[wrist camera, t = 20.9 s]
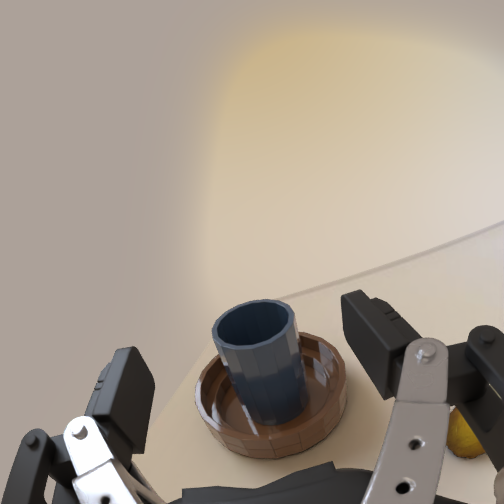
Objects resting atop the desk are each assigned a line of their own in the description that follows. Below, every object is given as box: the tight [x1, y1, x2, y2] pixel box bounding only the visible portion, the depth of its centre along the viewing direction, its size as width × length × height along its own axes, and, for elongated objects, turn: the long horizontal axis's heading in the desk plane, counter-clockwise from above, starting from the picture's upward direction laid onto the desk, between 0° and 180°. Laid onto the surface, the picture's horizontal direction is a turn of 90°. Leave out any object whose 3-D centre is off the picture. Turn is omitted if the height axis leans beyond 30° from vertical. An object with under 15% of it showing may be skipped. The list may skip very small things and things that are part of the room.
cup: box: [212, 299, 309, 425], centre depth 25 cm, size 7×7×10 cm
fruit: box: [446, 385, 502, 459], centre depth 14 cm, size 8×8×4 cm
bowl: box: [195, 332, 347, 458], centre depth 26 cm, size 14×14×4 cm
